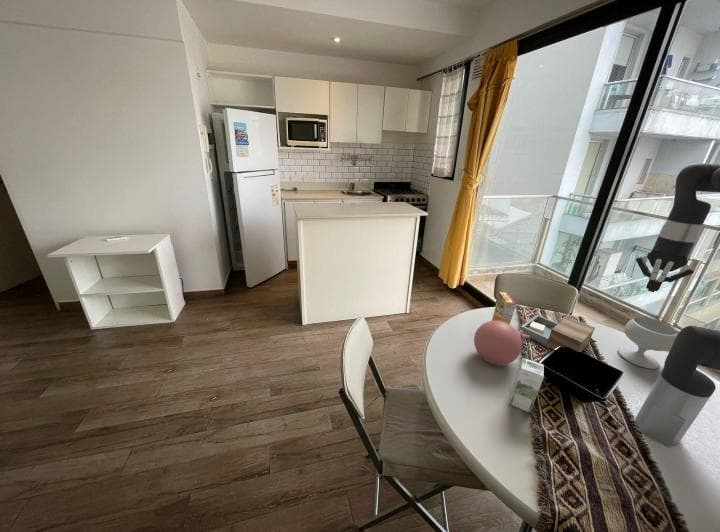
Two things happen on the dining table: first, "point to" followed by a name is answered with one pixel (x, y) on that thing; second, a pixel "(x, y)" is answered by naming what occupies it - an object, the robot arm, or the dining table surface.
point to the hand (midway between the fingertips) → (651, 290)
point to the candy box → (504, 308)
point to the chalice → (647, 340)
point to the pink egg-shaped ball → (499, 342)
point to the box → (535, 335)
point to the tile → (537, 327)
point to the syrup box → (526, 384)
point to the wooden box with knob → (570, 335)
